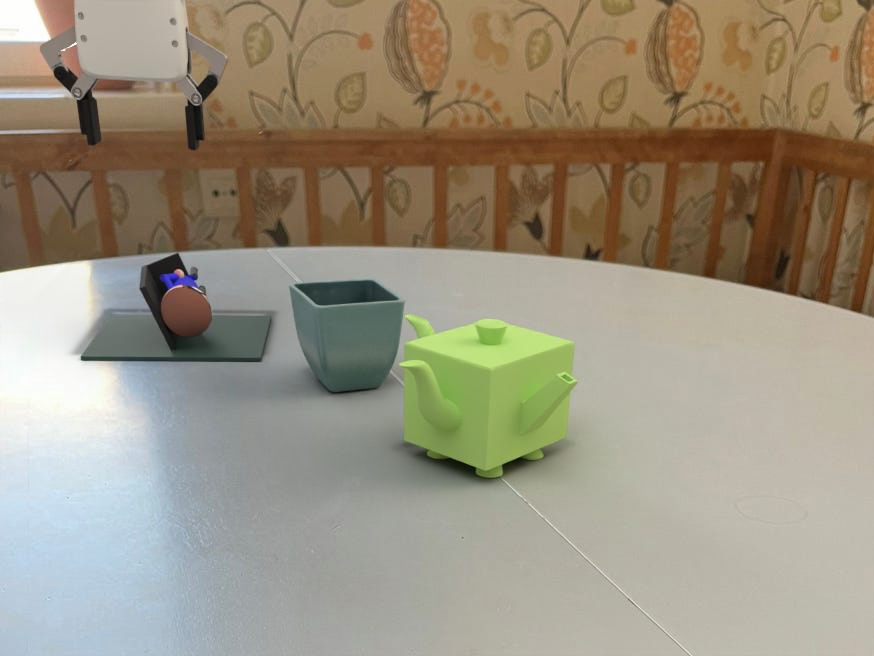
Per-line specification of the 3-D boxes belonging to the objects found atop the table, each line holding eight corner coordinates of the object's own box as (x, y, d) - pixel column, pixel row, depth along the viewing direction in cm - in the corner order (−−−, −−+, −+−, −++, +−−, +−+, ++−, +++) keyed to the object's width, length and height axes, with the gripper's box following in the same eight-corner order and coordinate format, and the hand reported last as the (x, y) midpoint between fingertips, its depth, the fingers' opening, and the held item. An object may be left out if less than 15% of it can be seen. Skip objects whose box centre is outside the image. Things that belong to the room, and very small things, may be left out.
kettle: (399, 489, 82) (399, 347, 76) (392, 425, 94) (391, 298, 88) (586, 487, 84) (600, 348, 78) (556, 425, 96) (566, 300, 90)
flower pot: (406, 393, 101) (407, 298, 97) (319, 403, 98) (315, 306, 93) (374, 366, 108) (373, 276, 103) (292, 375, 105) (287, 282, 100)
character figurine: (212, 317, 121) (213, 358, 108) (146, 314, 119) (139, 355, 107) (210, 247, 116) (211, 281, 104) (142, 242, 115) (135, 276, 102)
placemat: (81, 360, 106) (80, 356, 106) (111, 317, 120) (111, 313, 119) (261, 361, 108) (260, 357, 108) (271, 319, 121) (271, 315, 121)
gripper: (224, -53, 99) (236, 145, 108) (35, -66, 97) (63, 136, 107) (215, -54, 93) (229, 155, 102) (13, -68, 91) (45, 147, 100)
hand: (144, 146), depth 104 cm, fingers open, 9 cm apart
